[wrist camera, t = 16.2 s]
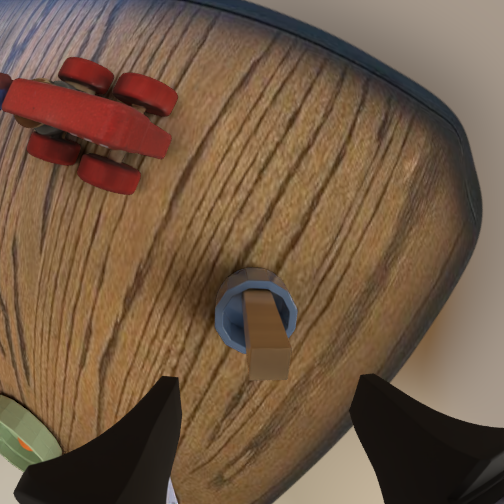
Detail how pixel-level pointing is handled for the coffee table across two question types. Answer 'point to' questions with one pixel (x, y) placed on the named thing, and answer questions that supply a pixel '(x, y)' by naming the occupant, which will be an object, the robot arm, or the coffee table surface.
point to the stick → (264, 337)
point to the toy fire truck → (91, 119)
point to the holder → (231, 304)
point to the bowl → (24, 436)
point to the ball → (24, 445)
